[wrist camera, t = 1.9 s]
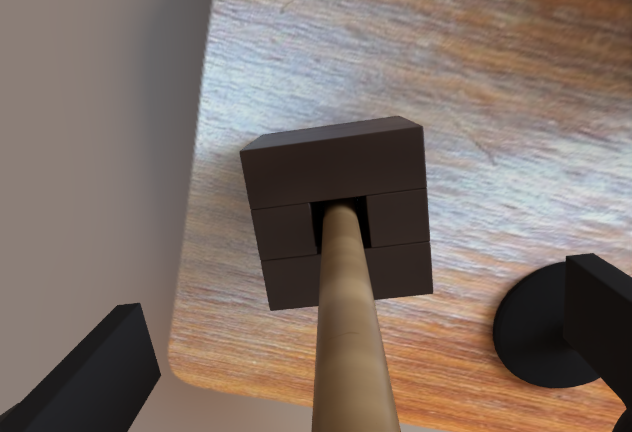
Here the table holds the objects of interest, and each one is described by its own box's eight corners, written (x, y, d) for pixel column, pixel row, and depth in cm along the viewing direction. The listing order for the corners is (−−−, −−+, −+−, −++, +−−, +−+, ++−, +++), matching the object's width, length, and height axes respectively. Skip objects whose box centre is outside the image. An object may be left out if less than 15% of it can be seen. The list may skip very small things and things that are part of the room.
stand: (261, 134, 27) (238, 150, 20) (399, 115, 26) (423, 125, 19) (283, 260, 29) (269, 311, 23) (409, 245, 29) (433, 294, 22)
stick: (323, 180, 27) (298, 490, 6) (350, 177, 27) (415, 481, 6) (326, 206, 28) (314, 571, 7) (353, 203, 28) (423, 564, 7)
